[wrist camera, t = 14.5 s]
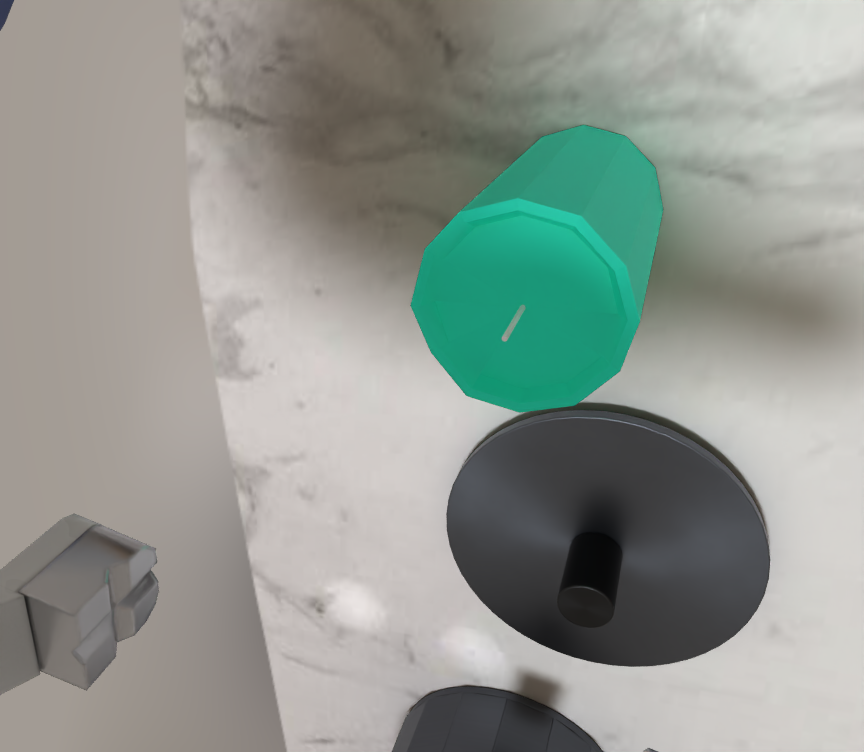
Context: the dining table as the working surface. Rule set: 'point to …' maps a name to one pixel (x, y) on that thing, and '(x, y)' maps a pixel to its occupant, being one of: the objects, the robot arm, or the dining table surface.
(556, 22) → the dining table surface
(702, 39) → the dining table surface
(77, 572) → the robot arm
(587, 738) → the pot
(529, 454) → the pot lid
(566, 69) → the dining table surface
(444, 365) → the candle
